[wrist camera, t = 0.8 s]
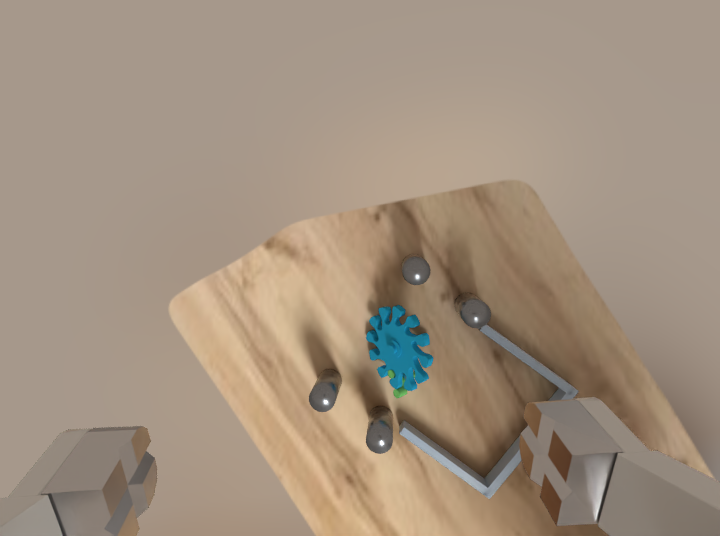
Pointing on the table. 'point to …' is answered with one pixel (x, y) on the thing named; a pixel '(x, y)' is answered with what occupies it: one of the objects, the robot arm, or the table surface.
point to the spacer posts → (380, 416)
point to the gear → (399, 349)
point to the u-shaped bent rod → (513, 453)
